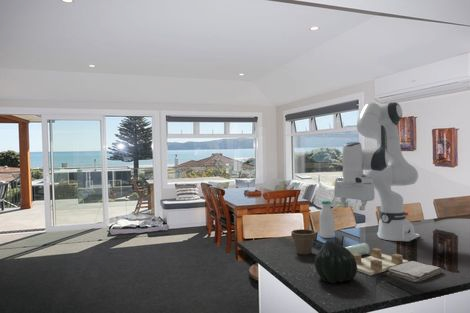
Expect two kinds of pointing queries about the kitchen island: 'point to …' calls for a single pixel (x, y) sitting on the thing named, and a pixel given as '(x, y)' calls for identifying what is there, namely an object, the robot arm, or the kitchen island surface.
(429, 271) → the washcloth
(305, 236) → the flower pot
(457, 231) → the kitchen island surface
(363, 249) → the ceramic bottle
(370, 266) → the board
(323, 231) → the milk bottle
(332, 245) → the squash
